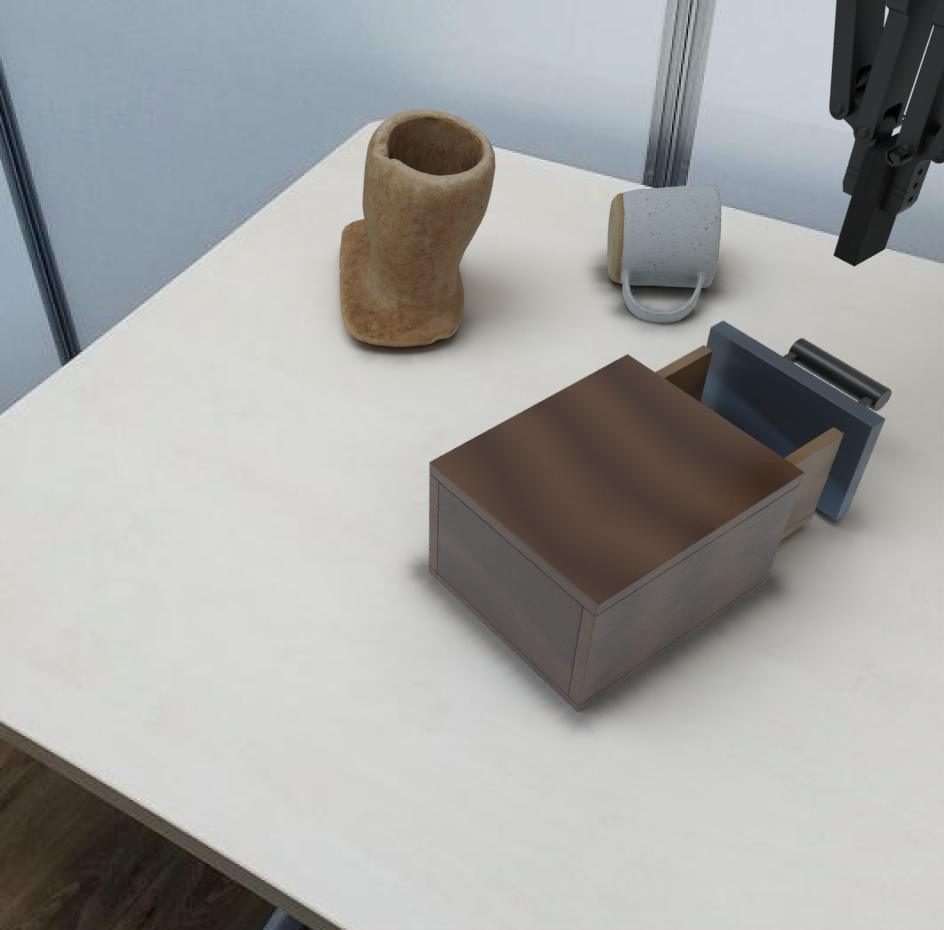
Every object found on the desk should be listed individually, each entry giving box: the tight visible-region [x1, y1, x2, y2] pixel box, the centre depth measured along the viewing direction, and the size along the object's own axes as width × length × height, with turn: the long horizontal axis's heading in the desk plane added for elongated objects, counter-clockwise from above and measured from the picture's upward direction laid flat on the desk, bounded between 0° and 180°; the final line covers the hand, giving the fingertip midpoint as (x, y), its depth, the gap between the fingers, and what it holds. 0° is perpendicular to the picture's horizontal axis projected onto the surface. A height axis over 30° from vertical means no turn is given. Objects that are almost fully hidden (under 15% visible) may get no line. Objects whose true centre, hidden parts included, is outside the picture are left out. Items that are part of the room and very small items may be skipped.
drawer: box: [654, 320, 893, 541], centre depth 72 cm, size 20×13×8 cm, turn 125°
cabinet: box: [428, 353, 805, 713], centre depth 68 cm, size 16×14×10 cm
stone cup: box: [339, 108, 496, 348], centre depth 86 cm, size 15×12×15 cm
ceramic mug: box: [606, 183, 722, 324], centre depth 88 cm, size 11×8×8 cm
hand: (859, 252), depth 65 cm, fingers closed
